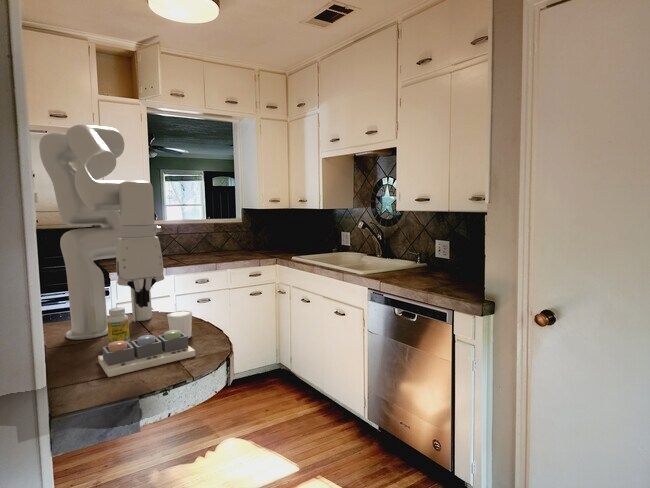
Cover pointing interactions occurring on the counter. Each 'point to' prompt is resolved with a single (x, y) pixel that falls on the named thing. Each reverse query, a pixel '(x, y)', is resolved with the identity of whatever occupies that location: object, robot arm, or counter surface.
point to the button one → (117, 346)
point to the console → (145, 355)
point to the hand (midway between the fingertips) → (142, 305)
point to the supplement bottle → (118, 325)
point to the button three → (172, 334)
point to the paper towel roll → (137, 311)
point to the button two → (146, 340)
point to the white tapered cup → (181, 321)
